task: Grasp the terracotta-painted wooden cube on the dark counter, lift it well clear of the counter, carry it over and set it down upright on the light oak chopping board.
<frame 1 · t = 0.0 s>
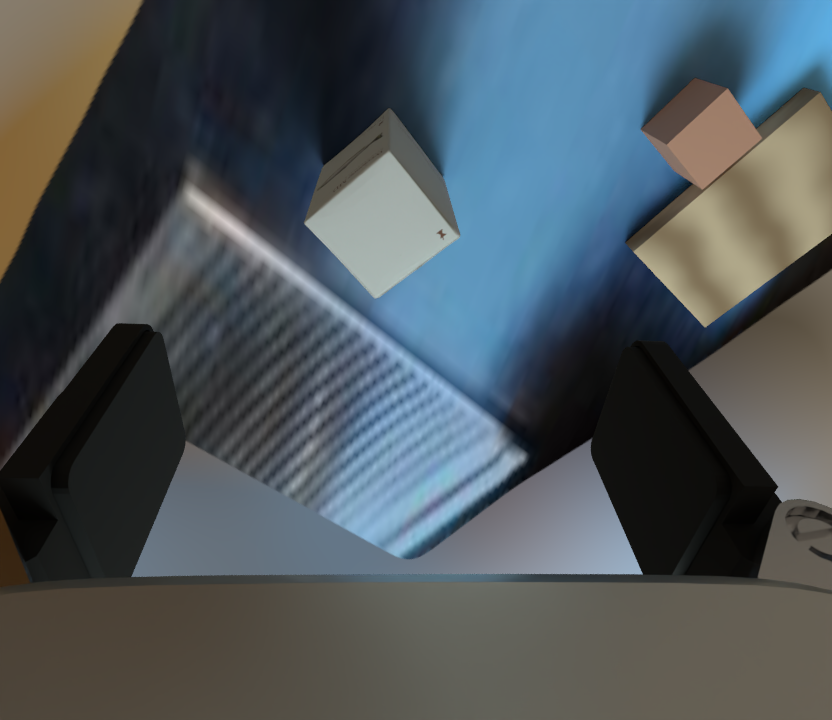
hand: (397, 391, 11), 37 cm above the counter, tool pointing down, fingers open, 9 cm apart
supplement box: (383, 171, 45), on the counter
terracotta cube: (683, 126, 44), on the counter
chopping board: (743, 216, 49), on the counter
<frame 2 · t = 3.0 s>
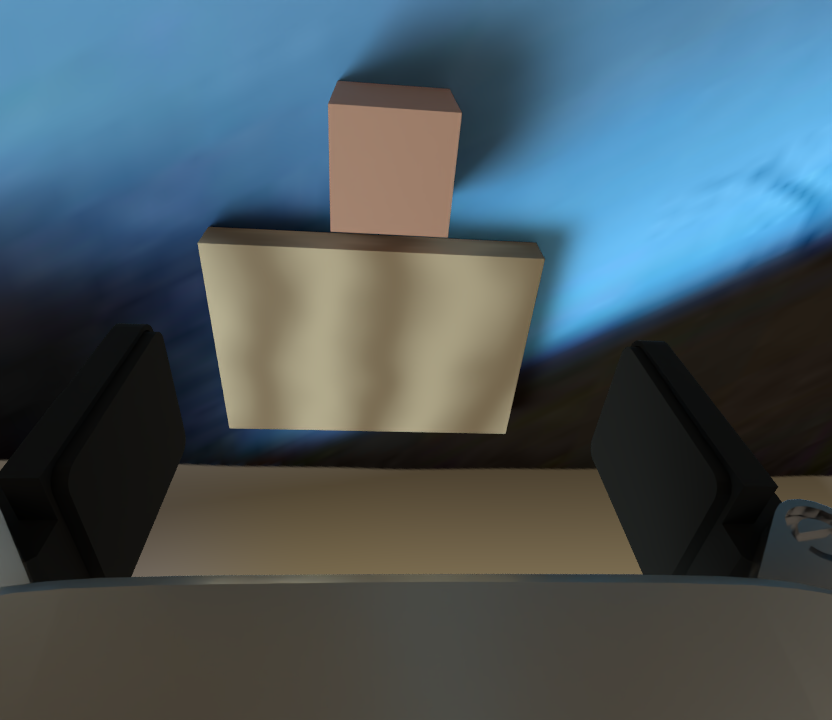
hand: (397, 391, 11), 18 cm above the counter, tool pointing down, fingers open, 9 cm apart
terracotta cube: (391, 142, 26), on the counter
chopping board: (373, 331, 32), on the counter
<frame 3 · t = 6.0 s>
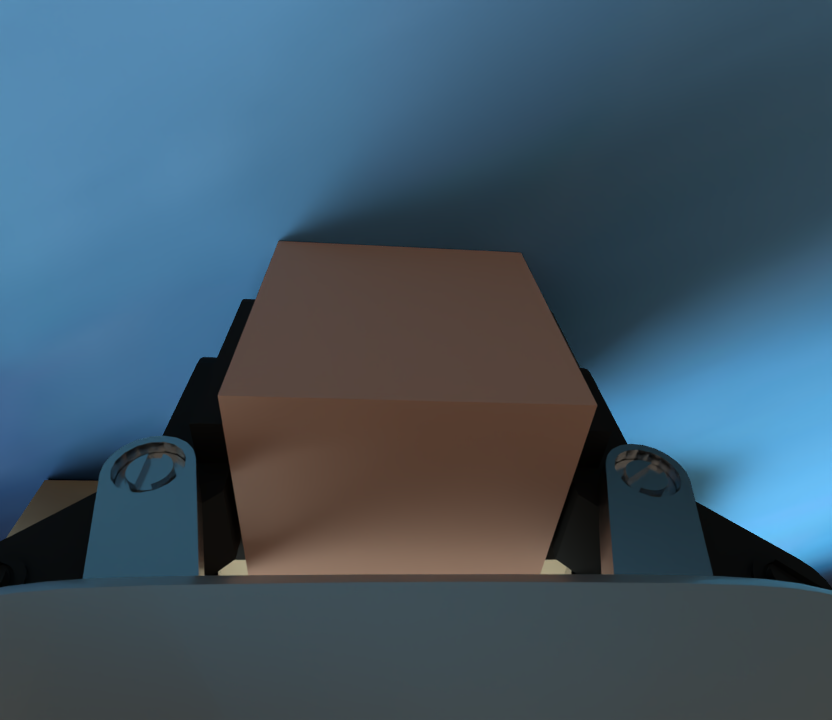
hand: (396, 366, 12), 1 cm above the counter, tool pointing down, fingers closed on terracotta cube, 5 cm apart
terracotta cube: (395, 347, 13), on the counter, touching gripper
chopping board: (363, 605, 19), on the counter
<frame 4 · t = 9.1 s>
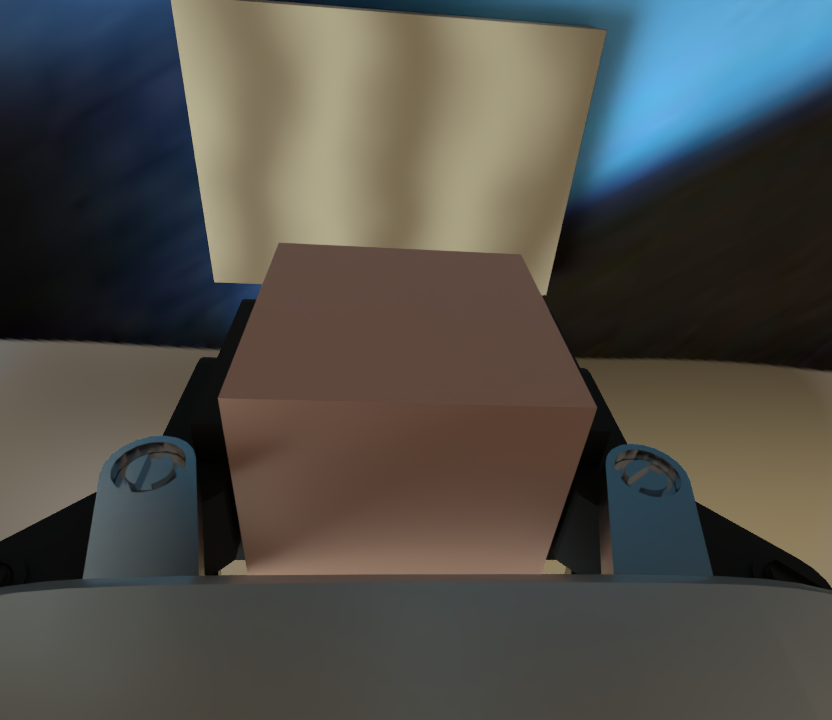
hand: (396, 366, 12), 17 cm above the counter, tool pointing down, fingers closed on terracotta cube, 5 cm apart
terracotta cube: (395, 349, 13), point 17 cm above the counter, touching gripper
chopping board: (388, 158, 26), on the counter
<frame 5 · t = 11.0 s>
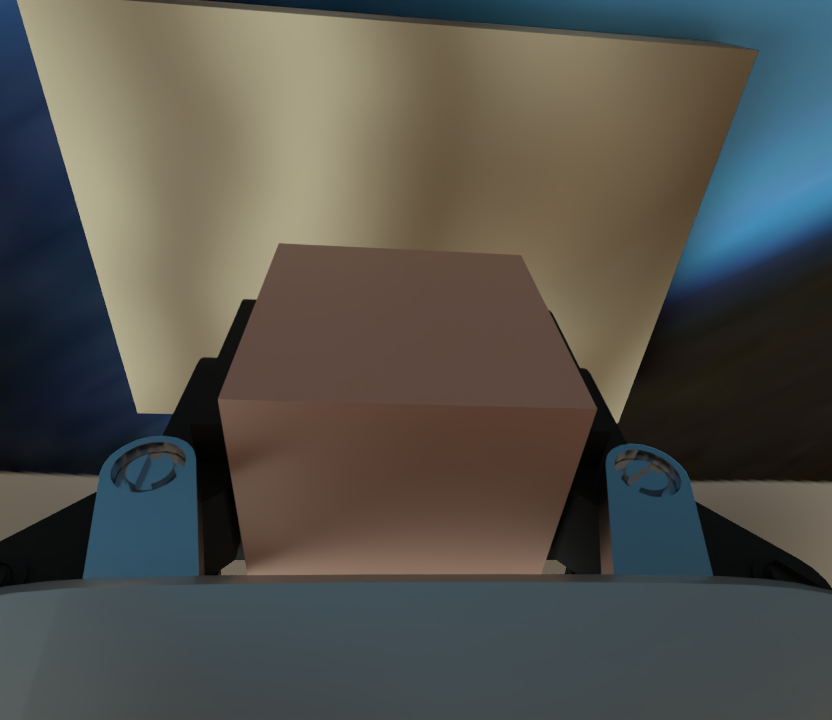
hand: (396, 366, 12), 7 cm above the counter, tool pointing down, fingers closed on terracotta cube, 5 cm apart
terracotta cube: (395, 349, 13), point 6 cm above the counter, touching gripper
chopping board: (393, 236, 18), on the counter
when the fingers open (4 cm above the counter, at t = 12.4 s): terracotta cube drops 1 cm, resting on chopping board.
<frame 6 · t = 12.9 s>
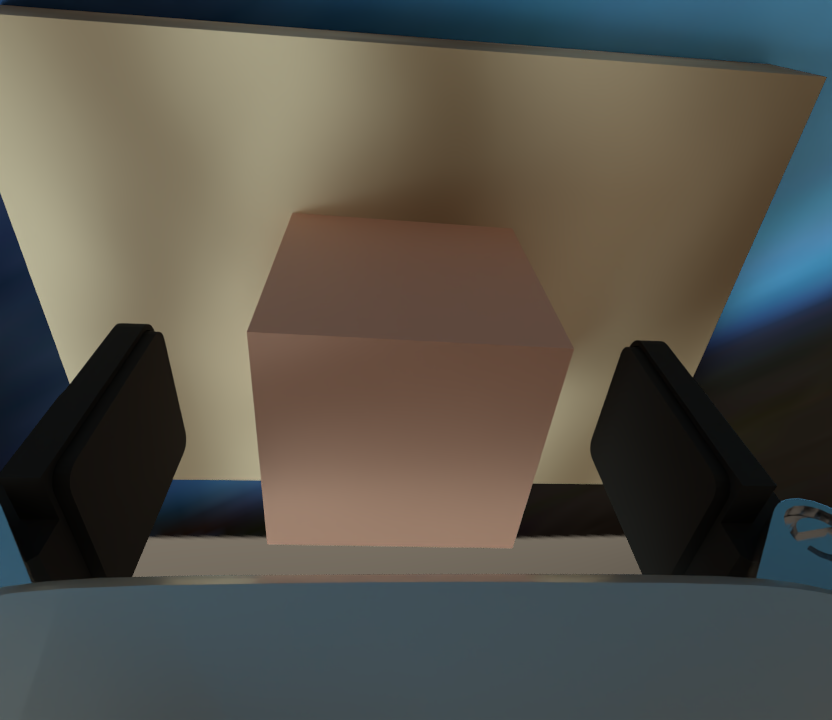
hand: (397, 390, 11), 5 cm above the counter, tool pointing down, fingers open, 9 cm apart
terracotta cube: (396, 316, 14), point 2 cm above the counter, touching chopping board
chopping board: (393, 281, 15), on the counter
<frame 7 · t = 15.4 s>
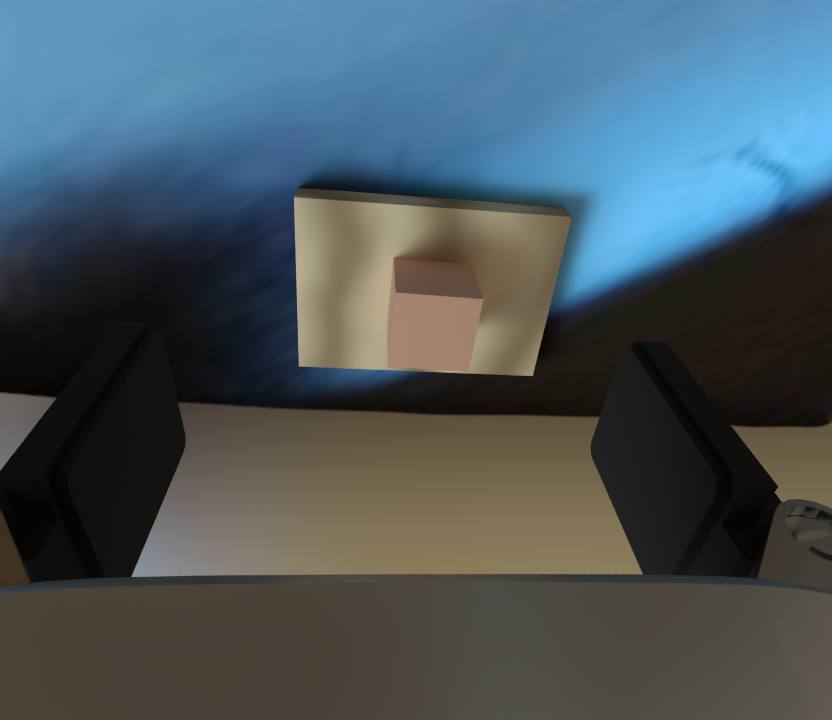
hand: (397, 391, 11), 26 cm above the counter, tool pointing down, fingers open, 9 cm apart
terracotta cube: (427, 296, 36), point 2 cm above the counter, touching chopping board
chopping board: (424, 283, 38), on the counter
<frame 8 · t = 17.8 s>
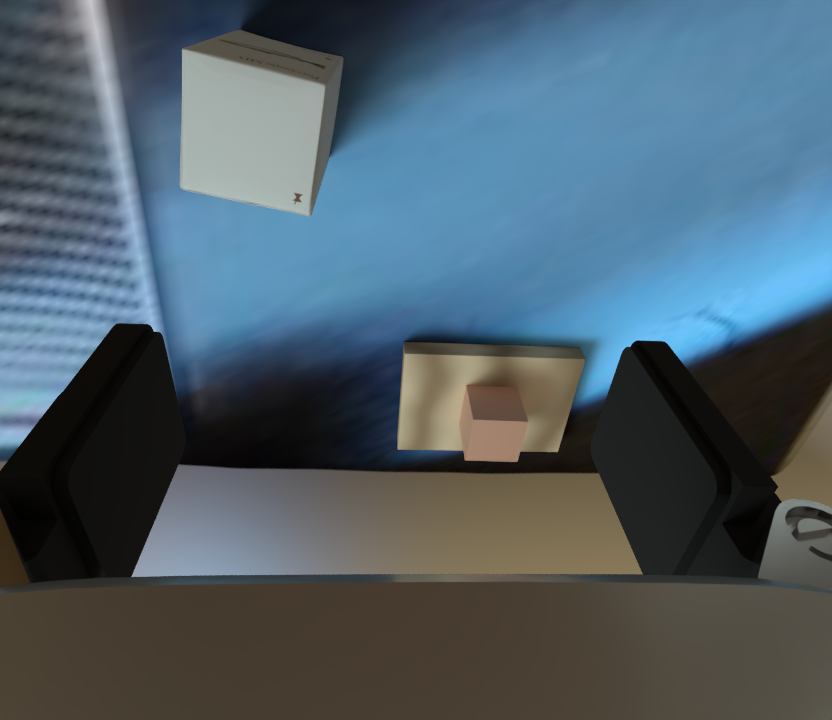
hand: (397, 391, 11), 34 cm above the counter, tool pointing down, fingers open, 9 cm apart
supplement box: (286, 97, 39), on the counter
terracotta cube: (487, 406, 54), point 2 cm above the counter, touching chopping board
chopping board: (483, 393, 56), on the counter
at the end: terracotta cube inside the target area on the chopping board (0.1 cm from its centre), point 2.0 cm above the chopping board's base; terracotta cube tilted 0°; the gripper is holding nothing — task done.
